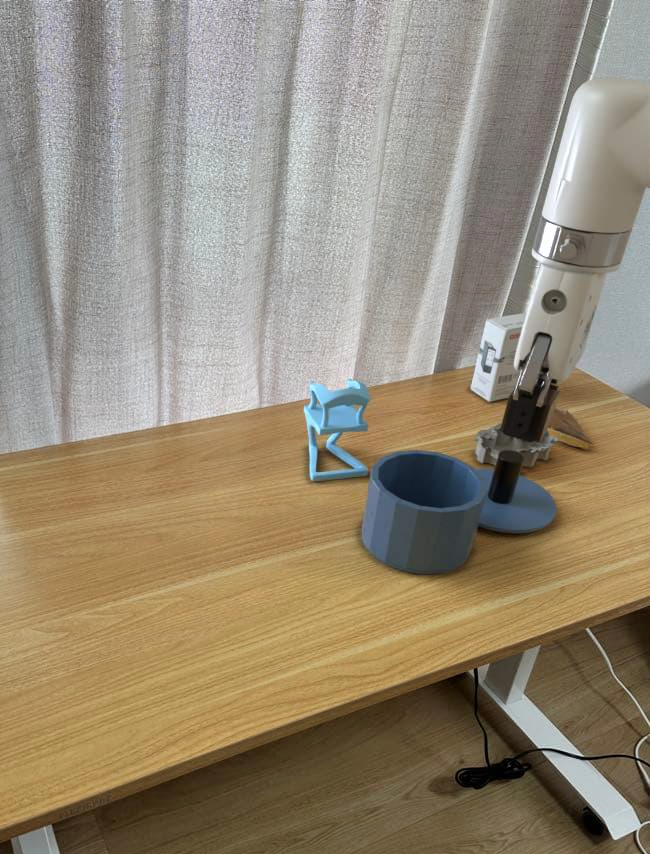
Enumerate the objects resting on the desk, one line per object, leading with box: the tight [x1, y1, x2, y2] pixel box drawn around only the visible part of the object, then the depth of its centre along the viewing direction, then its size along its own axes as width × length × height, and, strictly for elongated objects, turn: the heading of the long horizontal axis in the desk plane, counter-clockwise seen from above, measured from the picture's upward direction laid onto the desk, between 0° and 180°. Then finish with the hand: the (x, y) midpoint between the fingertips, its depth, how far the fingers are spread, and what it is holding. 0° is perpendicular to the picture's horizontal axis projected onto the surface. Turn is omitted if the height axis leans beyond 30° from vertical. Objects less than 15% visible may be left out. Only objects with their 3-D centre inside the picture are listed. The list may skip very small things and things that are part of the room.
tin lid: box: [475, 450, 557, 534], centre depth 99 cm, size 14×14×7 cm
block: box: [500, 386, 561, 442], centre depth 80 cm, size 4×4×4 cm
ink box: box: [470, 312, 527, 403], centre depth 123 cm, size 9×5×12 cm, turn 116°
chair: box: [303, 378, 371, 482], centre depth 104 cm, size 8×8×12 cm
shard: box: [547, 406, 594, 451], centre depth 116 cm, size 11×8×2 cm
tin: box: [361, 449, 487, 575], centre depth 92 cm, size 13×13×8 cm
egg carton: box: [473, 421, 558, 470], centre depth 110 cm, size 11×8×4 cm
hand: (525, 426), depth 81 cm, fingers closed on block, 4 cm apart
